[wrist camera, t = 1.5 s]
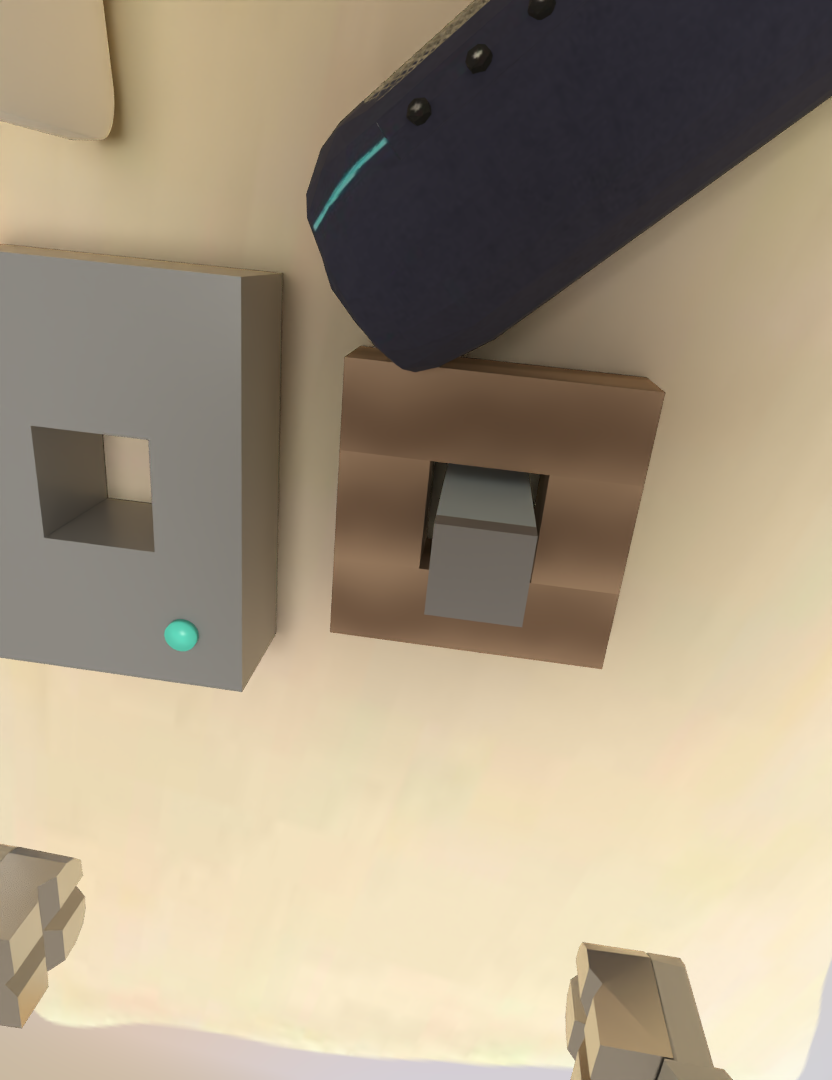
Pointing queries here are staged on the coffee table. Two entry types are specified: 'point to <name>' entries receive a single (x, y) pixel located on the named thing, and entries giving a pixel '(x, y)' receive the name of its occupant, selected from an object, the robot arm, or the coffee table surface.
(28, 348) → the port box
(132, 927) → the coffee table surface
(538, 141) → the portable speaker
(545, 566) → the square wooden frame
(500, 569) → the plug
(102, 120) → the cable organizer
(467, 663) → the coffee table surface
